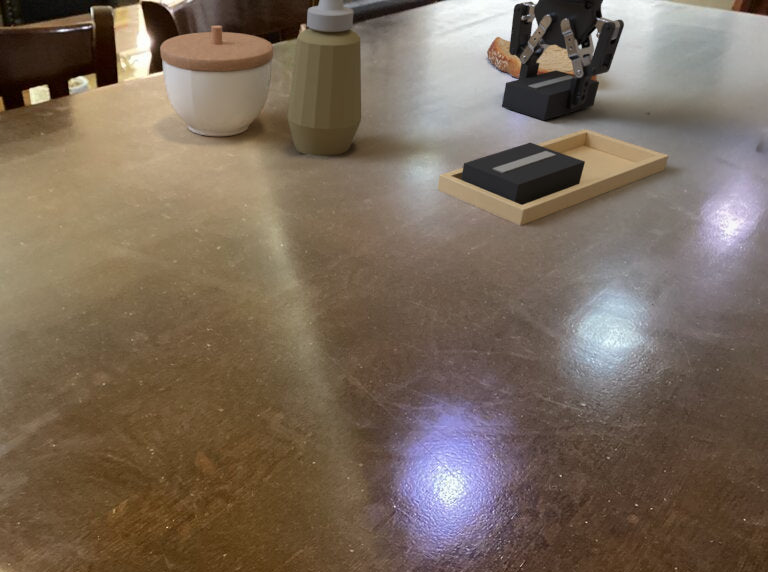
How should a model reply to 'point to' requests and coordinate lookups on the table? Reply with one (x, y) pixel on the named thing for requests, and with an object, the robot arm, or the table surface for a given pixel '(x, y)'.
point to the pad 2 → (524, 173)
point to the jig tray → (600, 175)
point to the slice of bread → (547, 62)
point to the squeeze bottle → (326, 82)
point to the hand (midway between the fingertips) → (548, 100)
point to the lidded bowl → (217, 79)
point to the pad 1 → (544, 95)
